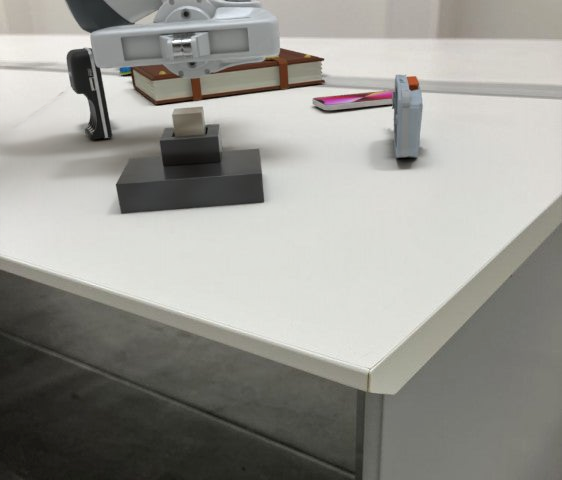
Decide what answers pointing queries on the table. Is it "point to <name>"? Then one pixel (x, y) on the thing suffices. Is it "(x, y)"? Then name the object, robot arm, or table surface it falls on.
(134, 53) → the robot arm
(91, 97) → the black curved upright piece
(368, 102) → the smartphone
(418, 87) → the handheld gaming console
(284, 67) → the book
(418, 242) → the table surface
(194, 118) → the beige cube
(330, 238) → the table surface
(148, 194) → the grey stepped pedestal
